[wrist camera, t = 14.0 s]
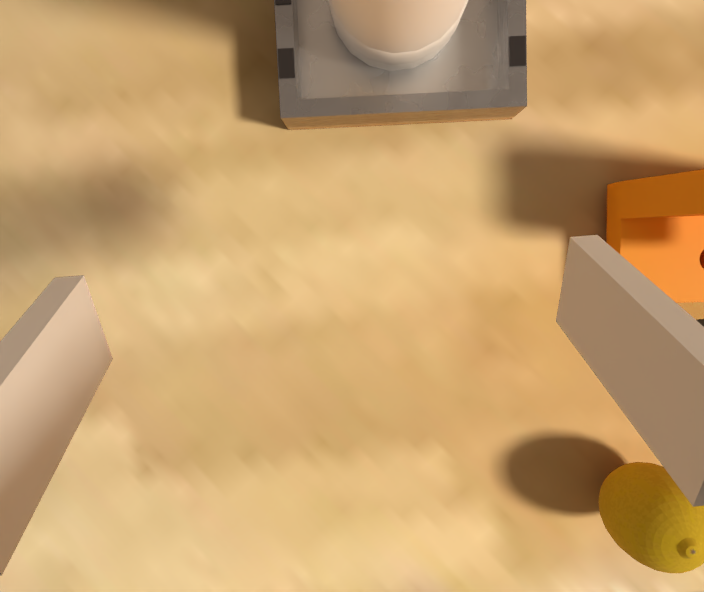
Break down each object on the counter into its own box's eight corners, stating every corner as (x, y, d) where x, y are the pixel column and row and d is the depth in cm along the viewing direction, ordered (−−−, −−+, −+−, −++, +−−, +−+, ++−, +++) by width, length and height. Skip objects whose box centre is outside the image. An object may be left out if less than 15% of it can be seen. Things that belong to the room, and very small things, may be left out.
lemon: (679, 468, 36) (768, 533, 28) (635, 537, 36) (709, 620, 28) (607, 428, 36) (676, 483, 28) (563, 498, 36) (619, 571, 28)
